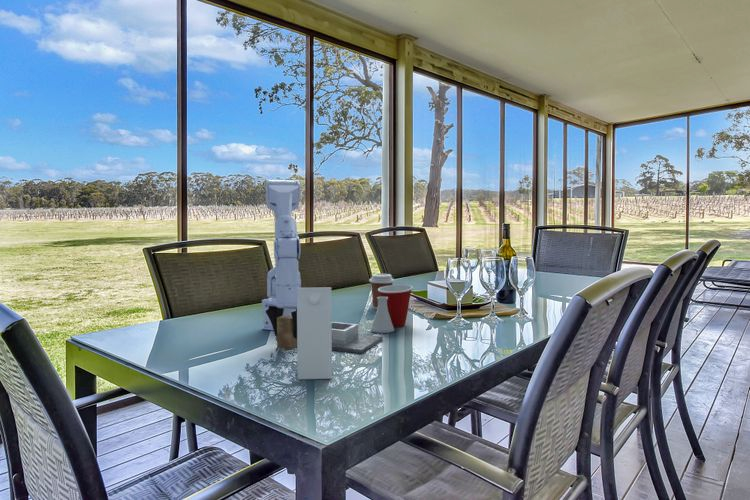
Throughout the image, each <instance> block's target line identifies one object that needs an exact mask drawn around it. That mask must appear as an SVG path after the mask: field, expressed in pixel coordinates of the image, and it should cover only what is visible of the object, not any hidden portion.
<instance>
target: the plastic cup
mask: <svg viewBox="0 0 750 500" xmlns="http://www.w3.org/2000/svg"><path fill="white" fill-rule="evenodd" d="M413 288H414V286H412V285H410V284H392V285H389V286H384V287H380V288H378V291H379V293H380V295H381V297H388V300H387V308H388V312H389V315H390V319H391V322H392V324H393V327H394V328H402V327H405V325H406V322H407V316H408V313H409V307H410V298H411V294H412V290H413Z"/></svg>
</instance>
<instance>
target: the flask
mask: <svg viewBox="0 0 750 500" xmlns="http://www.w3.org/2000/svg"><path fill="white" fill-rule="evenodd" d="M377 299H378V308H377V309H376V312H375V316H374V319H373V321H372V323H371V326H370V332H372V333H378V334H390V333H393V332H394V331H395V327H393V324H392V322H391V319H390V315H389V312H388V308H387V300H388V297H377Z"/></svg>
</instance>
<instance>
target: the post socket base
mask: <svg viewBox="0 0 750 500" xmlns="http://www.w3.org/2000/svg"><path fill="white" fill-rule="evenodd" d="M383 339H384V337H383V336H379V335H373V334H371V335H370V334H360V333H359V324H358V323H350V322H349V323H348V322H339V321H337V322H336V321H332V351H337V352H344V353H345V352H346V353H353V354H358V355H359V354H360V355H362V354H364V353H365V352H368V351H369V350H370V349H371V348H373V347H375V346H376V345H377V344H379V343H380V342H382V341H383Z"/></svg>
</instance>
